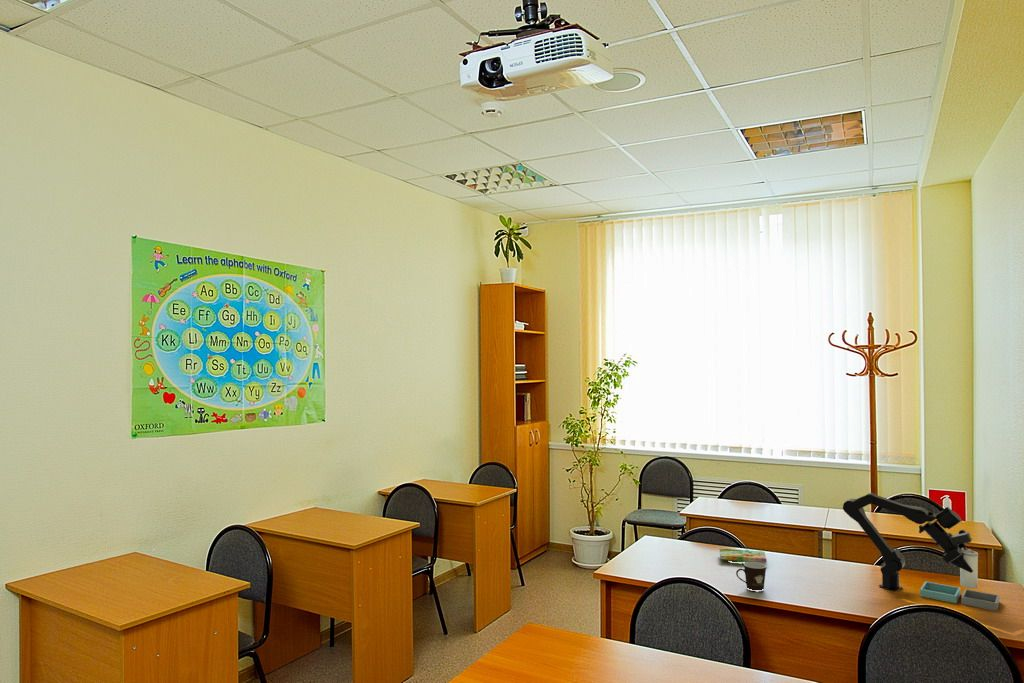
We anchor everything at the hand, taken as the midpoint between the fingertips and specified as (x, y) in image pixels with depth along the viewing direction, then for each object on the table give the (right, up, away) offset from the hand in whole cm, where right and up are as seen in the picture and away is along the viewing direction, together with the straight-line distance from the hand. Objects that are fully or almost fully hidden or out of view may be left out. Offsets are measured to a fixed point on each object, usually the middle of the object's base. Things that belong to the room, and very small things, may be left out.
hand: (973, 570), depth 262 cm
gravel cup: (-1, -6, +1) cm, 6 cm away
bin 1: (-8, -13, +7) cm, 17 cm away
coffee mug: (-79, -14, +17) cm, 82 cm away
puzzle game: (-70, -15, +54) cm, 90 cm away
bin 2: (+2, -13, -2) cm, 13 cm away
